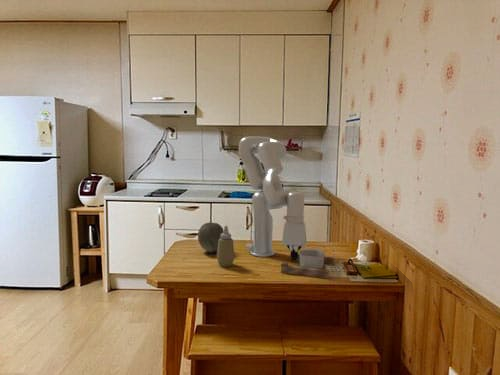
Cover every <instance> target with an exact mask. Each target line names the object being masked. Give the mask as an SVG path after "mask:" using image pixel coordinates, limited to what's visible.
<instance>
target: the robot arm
mask: <svg viewBox="0 0 500 375" xmlns="http://www.w3.org/2000/svg"><path fill="white" fill-rule="evenodd" d="M238 154H239V157H240V159H241V161H242V164H243V166H244V168H245V172H246V175H247V179H248V183H249V185H250V187H251V189H252V190H255V191H256V192H255V193H254V194H253V195H252V196H251V205H252V211H253V212H252V214H253V231H252V232H253V236H252V237H253V239H252V240H253V243H245V248H246V249H250V250H249V254H250V255H252V256H254V257H261V258H262V257H263V258H264V257H266V258H267V257H273V256H275V254H276V250H275V249H273V229H274V228H273V227H274V226H273V225H274V224H273V222H274V221H273V216H272V214H271V212H270V210H277V209H278V210H279V209H281V208H284V207H286V215H283V219H284V220H285V222H284V224H283V228H282V229H283V230H282V246H283V247H286V248H288V250H289V251H290V259H291V258H292V260H291V261H293V260H296V259H297V258H298V254H299V251H301V249H306V248H307V227H306V223H305V222H304V218H305V194H304V193H303V192H301V191H295V190H294V189H293V190H292V189H283V185H282V182H281V179H280V177H279V175H280V174H282V172H283V170H284V167H283V165H282V162H281V159H284V158H285V157H286V154H287V148H286V146H285V144H284V143H283V142H282V141H281V140H277V139H274V138H272V137H270V136H258V135H257V136H255V135H254V136H251V135H249V136H244V137H243V138H241V139H240V141H239V144H238ZM255 154H258V156H259V158H258V157H257V155H255ZM294 246H295V247H294Z"/></svg>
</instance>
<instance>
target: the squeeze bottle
mask: <svg viewBox="0 0 500 375" xmlns="http://www.w3.org/2000/svg"><path fill="white" fill-rule="evenodd" d="M234 245H235V244H234V239H233V238H232V233H229V228H228V225H225V226H224V228H223V233H222V234H221V238H220V239H219V241H218V250H217V252H216V260H217V263H218V266H220V267H223V268H226V267H227V268H228V267H231V266H232V265H233V263H234V260H235V246H234Z"/></svg>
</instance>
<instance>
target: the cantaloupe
mask: <svg viewBox="0 0 500 375" xmlns="http://www.w3.org/2000/svg"><path fill="white" fill-rule="evenodd" d="M223 231H224V228H223V226H222V225H221V224H219V223H217V222H211V221H210V222H205V223H203V224H202V225H201V226H200V228H199V229H198V232H197V241H198V243H199V245H200V247H201V248H202V249H204V250H205V251H206V252H208V253H211V254H214V253H217V250H218V241H219V239H220V238H221V234H222V233H223Z"/></svg>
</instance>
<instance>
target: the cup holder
mask: <svg viewBox="0 0 500 375" xmlns="http://www.w3.org/2000/svg"><path fill="white" fill-rule="evenodd" d="M290 261H295V262H300V259H299V253H298V258H297V259H296V260H292V258H291V257H290ZM323 265H329V266H335V257H331V256H324V264H323ZM280 273H281V274H289V275H297V276H305V277H312V278H318V279H319V278H320V279H329V276H330V275H329V274H330V270H328V269H323V268H321V269H315V268H307V267H301V266H300V265H299V266H298V265H297V266H296V265H289V264H288V262H282V263H281V264H280Z"/></svg>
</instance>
